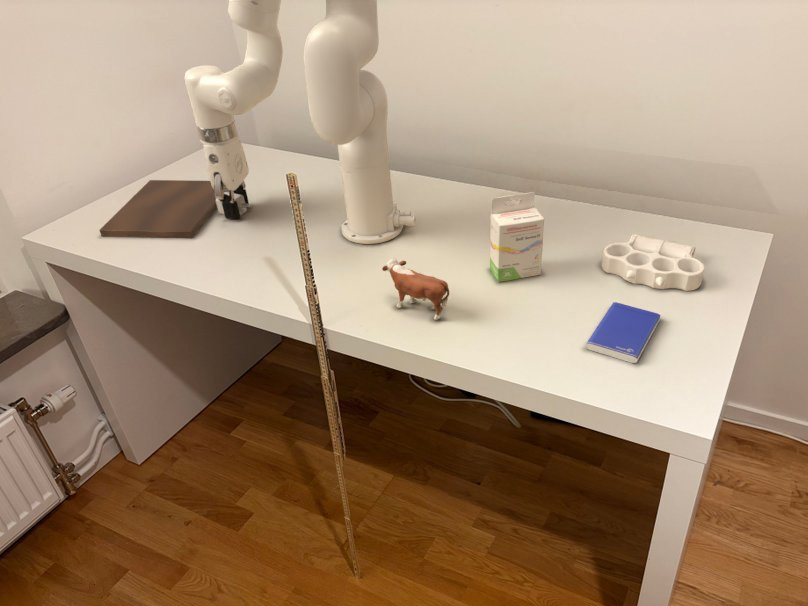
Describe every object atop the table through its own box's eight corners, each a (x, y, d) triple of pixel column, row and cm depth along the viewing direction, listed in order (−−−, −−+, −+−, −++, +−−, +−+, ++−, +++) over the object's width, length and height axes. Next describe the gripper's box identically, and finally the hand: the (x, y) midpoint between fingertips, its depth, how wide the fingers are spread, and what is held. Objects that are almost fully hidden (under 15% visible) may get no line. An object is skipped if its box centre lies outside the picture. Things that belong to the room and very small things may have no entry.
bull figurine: (394, 290, 125) (390, 251, 120) (455, 313, 119) (453, 273, 114) (378, 302, 122) (373, 262, 117) (440, 326, 116) (438, 285, 111)
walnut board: (232, 186, 162) (231, 180, 161) (192, 238, 143) (190, 231, 142) (151, 185, 164) (150, 179, 163) (101, 236, 145) (99, 230, 144)
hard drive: (637, 356, 106) (661, 313, 114) (586, 341, 109) (613, 301, 117) (636, 364, 107) (659, 321, 115) (585, 349, 110) (612, 308, 118)
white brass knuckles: (710, 261, 129) (693, 302, 119) (616, 241, 136) (592, 278, 126) (714, 245, 127) (697, 286, 117) (618, 226, 134) (594, 262, 124)
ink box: (497, 283, 126) (498, 210, 117) (489, 269, 130) (489, 197, 120) (542, 275, 127) (546, 202, 118) (532, 261, 131) (535, 189, 122)
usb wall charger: (231, 207, 154) (227, 190, 151) (256, 212, 151) (252, 195, 149) (219, 215, 151) (215, 198, 148) (245, 220, 149) (240, 203, 146)
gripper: (220, 148, 133) (241, 231, 144) (249, 116, 146) (266, 194, 157) (182, 147, 134) (206, 231, 145) (215, 115, 147) (234, 194, 158)
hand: (237, 211), depth 151 cm, fingers closed on usb wall charger, 4 cm apart
